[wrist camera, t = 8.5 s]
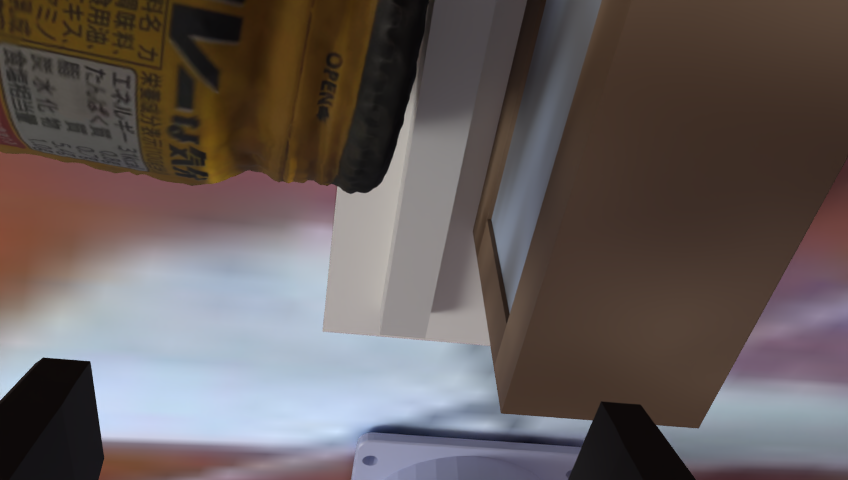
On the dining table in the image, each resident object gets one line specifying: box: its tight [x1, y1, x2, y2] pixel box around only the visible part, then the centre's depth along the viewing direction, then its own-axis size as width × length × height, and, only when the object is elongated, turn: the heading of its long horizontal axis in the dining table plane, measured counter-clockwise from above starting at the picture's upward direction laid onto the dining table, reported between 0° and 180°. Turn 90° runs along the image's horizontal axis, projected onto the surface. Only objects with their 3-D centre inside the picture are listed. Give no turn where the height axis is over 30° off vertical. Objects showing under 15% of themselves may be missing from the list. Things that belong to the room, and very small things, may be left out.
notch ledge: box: [323, 0, 527, 346], centre depth 16 cm, size 20×11×2 cm, turn 171°
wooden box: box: [473, 0, 848, 428], centre depth 14 cm, size 12×4×6 cm, turn 171°
